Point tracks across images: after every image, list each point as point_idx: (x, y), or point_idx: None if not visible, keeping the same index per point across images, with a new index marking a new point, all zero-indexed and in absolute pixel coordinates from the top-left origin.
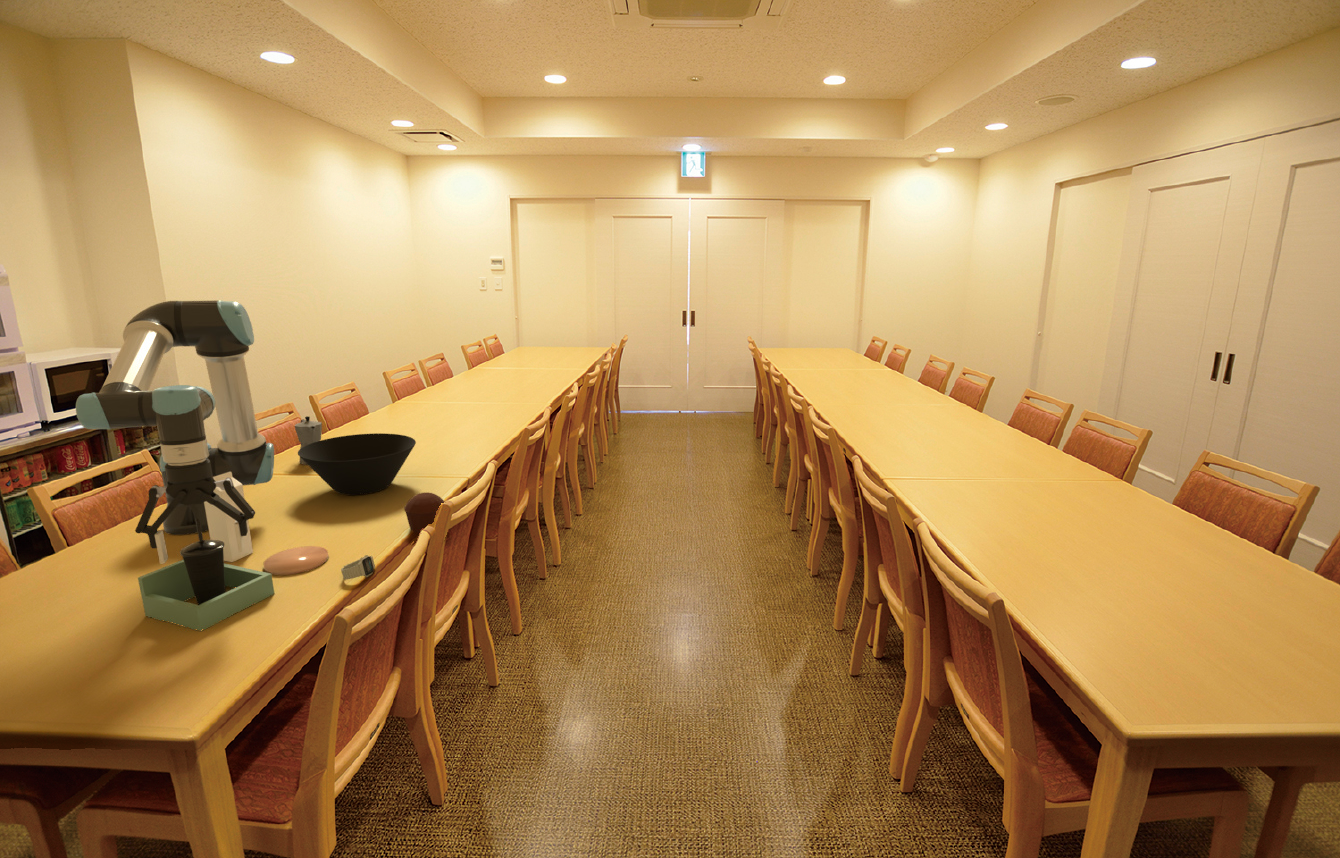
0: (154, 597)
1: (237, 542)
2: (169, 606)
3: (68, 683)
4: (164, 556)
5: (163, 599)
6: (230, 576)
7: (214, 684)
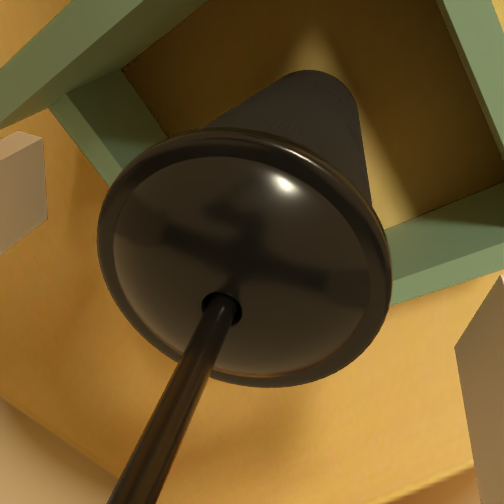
0: (88, 153)
1: (469, 410)
2: None
3: (22, 329)
4: (19, 218)
5: None
6: None
7: (273, 501)
